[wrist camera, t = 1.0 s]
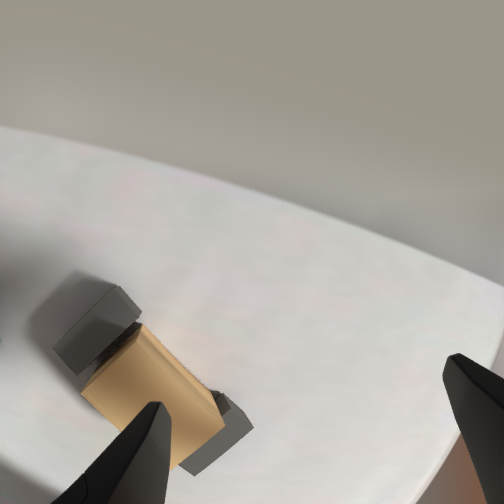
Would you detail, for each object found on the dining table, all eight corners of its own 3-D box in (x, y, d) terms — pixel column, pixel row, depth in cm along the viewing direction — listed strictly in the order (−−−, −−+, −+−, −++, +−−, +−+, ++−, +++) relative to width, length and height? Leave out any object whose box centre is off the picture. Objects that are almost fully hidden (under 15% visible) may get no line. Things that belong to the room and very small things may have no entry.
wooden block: (167, 429, 18) (170, 470, 13) (98, 365, 17) (80, 393, 13) (210, 391, 19) (225, 425, 14) (142, 323, 18) (136, 341, 13)
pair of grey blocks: (190, 456, 18) (194, 476, 16) (64, 338, 17) (52, 348, 14) (243, 411, 19) (253, 427, 17) (119, 285, 18) (113, 288, 16)
